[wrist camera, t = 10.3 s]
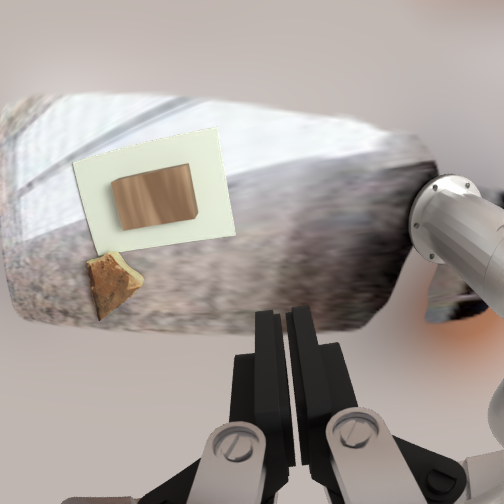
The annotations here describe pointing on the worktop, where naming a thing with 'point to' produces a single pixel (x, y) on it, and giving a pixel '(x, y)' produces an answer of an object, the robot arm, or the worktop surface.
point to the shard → (111, 282)
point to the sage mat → (147, 159)
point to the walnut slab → (155, 197)
